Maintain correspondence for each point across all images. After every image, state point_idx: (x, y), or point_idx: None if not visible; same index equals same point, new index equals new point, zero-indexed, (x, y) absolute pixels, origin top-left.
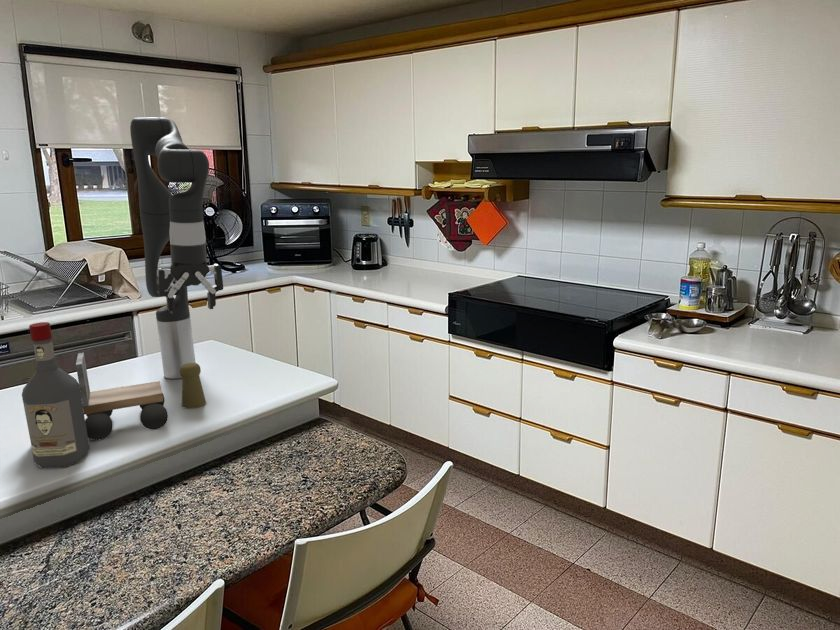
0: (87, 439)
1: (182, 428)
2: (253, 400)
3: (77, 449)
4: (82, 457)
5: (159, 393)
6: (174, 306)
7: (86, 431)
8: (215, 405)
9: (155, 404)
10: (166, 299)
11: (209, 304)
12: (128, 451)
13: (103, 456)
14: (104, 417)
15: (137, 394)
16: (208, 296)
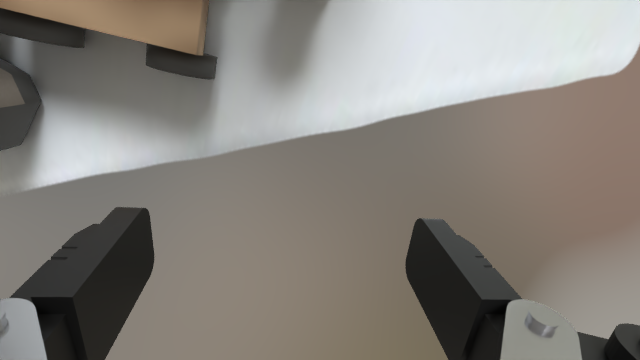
0: (21, 106)
1: (243, 105)
2: (435, 49)
3: (4, 147)
4: (30, 124)
5: (188, 50)
6: (127, 308)
7: (6, 108)
8: (352, 12)
9: (179, 64)
10: (17, 293)
11: (419, 276)
12: (123, 149)
13: (74, 140)
14: (46, 42)
15: (126, 7)
16: (453, 305)
